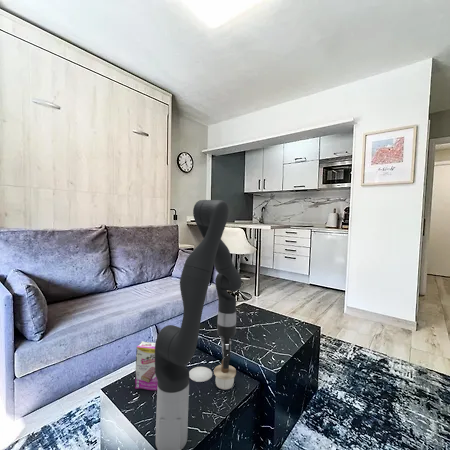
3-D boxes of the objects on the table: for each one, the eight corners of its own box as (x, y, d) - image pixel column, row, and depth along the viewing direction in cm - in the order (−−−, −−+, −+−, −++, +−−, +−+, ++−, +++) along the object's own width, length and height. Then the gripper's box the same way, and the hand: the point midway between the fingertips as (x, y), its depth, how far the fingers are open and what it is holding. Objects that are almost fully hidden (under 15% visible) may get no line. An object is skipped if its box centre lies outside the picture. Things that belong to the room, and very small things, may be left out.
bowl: (236, 387, 98) (236, 375, 98) (219, 391, 95) (220, 378, 95) (229, 377, 104) (229, 365, 104) (213, 380, 102) (214, 368, 102)
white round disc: (212, 382, 101) (212, 381, 101) (187, 381, 100) (187, 380, 100) (212, 367, 111) (212, 366, 111) (189, 367, 110) (189, 366, 110)
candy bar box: (134, 389, 95) (135, 346, 94) (139, 381, 100) (141, 340, 99) (162, 392, 93) (164, 349, 93) (166, 384, 98) (168, 343, 98)
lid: (237, 379, 95) (238, 367, 95) (214, 380, 95) (214, 367, 95) (234, 366, 104) (234, 354, 104) (213, 366, 103) (213, 355, 103)
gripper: (237, 329, 93) (236, 372, 93) (234, 315, 107) (233, 352, 107) (217, 329, 92) (216, 372, 93) (217, 315, 107) (215, 352, 107)
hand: (225, 362), depth 100 cm, fingers open, 8 cm apart
